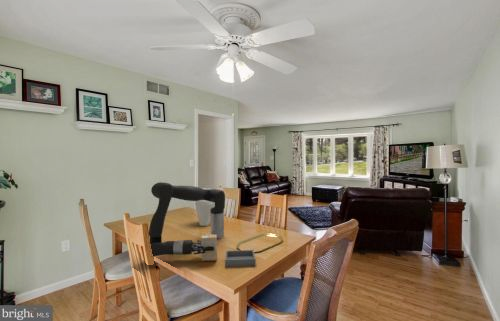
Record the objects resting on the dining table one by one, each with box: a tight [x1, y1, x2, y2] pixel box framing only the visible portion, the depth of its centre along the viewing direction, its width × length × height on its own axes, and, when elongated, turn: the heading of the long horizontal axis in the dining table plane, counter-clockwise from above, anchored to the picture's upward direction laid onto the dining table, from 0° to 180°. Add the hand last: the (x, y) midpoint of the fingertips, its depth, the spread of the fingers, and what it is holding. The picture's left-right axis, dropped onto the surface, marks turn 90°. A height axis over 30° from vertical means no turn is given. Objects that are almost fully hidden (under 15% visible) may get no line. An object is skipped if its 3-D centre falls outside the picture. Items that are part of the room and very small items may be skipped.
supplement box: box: [200, 234, 218, 262], centre depth 133 cm, size 8×5×13 cm, turn 92°
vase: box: [194, 187, 214, 227], centre depth 197 cm, size 15×15×29 cm
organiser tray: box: [225, 249, 256, 268], centre depth 131 cm, size 12×16×4 cm
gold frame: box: [236, 233, 283, 254], centre depth 156 cm, size 19×35×2 cm, turn 135°
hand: (214, 246), depth 133 cm, fingers closed on supplement box, 5 cm apart
